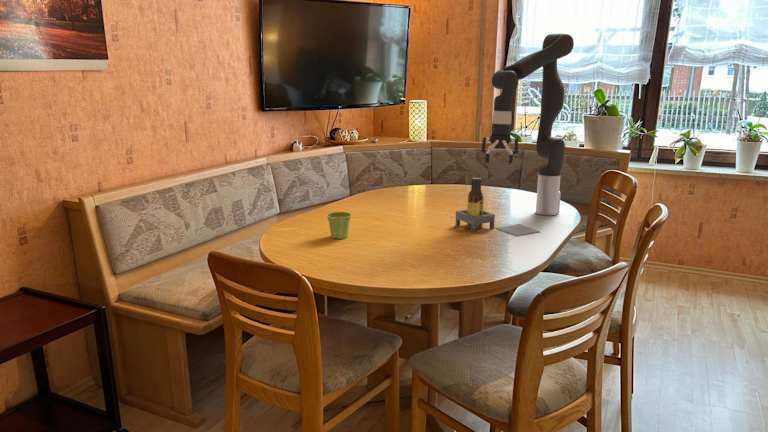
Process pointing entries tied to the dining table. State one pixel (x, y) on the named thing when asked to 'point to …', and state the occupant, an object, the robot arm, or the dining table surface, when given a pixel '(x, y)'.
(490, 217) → the grey square frame stand
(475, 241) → the dining table surface
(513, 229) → the slate mat
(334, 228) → the plant pot
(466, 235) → the dining table surface
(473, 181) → the sauce bottle
